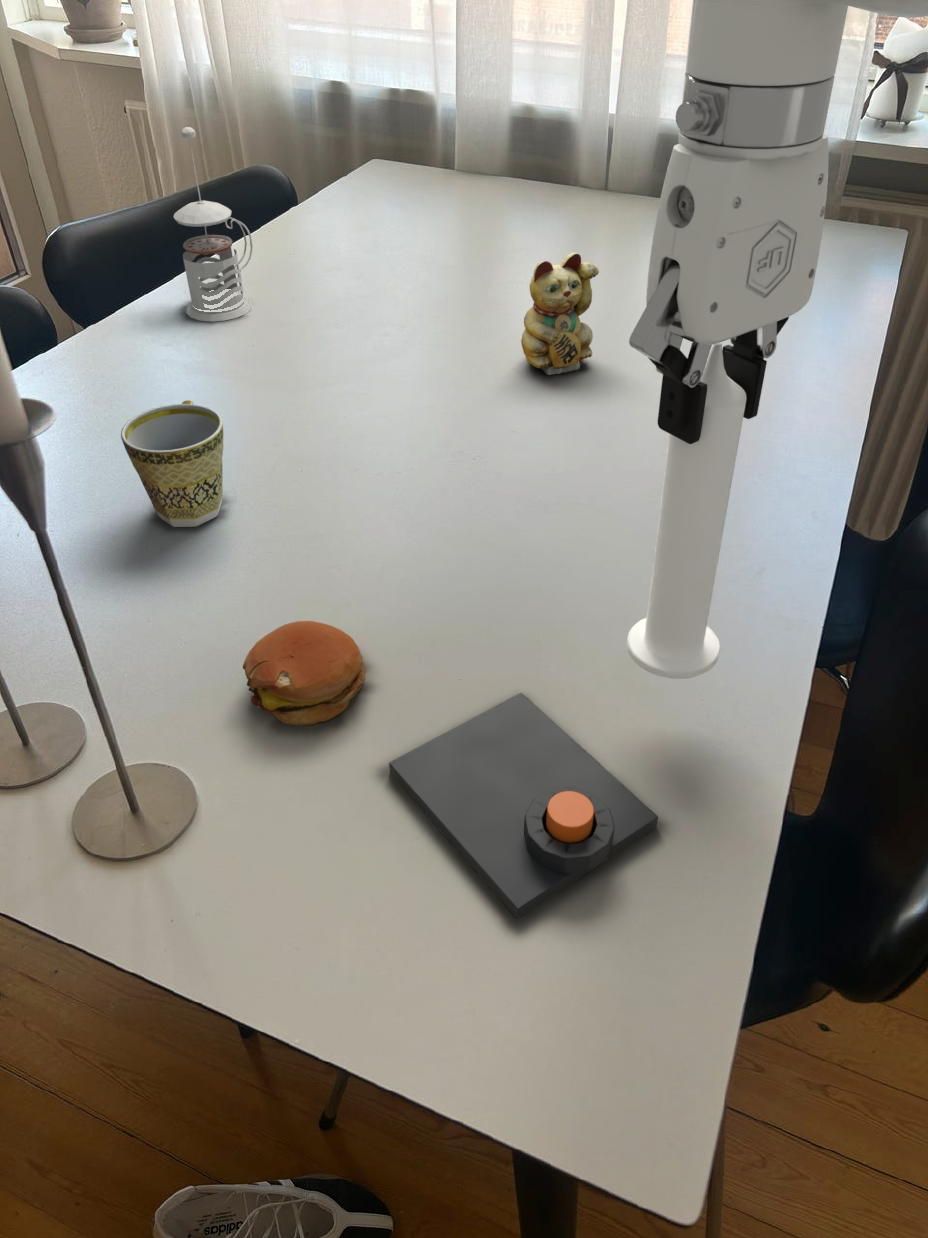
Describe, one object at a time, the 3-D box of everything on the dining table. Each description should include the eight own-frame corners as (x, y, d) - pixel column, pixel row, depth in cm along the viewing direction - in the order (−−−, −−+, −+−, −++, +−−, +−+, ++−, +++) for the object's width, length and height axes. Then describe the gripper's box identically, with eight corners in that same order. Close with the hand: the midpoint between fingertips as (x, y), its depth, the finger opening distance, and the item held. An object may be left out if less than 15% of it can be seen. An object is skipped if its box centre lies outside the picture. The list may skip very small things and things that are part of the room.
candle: (607, 648, 75) (636, 343, 60) (665, 608, 79) (706, 311, 63) (680, 693, 71) (731, 378, 55) (737, 649, 75) (800, 342, 59)
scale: (662, 832, 70) (667, 805, 68) (522, 925, 64) (523, 899, 62) (521, 702, 80) (522, 676, 79) (389, 772, 75) (387, 746, 73)
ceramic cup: (229, 536, 99) (212, 450, 93) (132, 537, 99) (108, 452, 93) (249, 470, 109) (234, 389, 103) (161, 471, 109) (141, 390, 103)
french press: (174, 307, 146) (136, 126, 130) (240, 287, 152) (212, 112, 136) (206, 326, 140) (171, 140, 124) (274, 305, 146) (249, 124, 130)
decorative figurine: (538, 383, 125) (543, 268, 116) (506, 359, 131) (508, 247, 121) (599, 367, 129) (609, 253, 119) (566, 344, 134) (572, 234, 125)
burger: (365, 648, 86) (361, 607, 83) (365, 723, 79) (360, 682, 76) (254, 654, 85) (245, 614, 82) (243, 731, 78) (233, 690, 75)
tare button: (601, 828, 67) (603, 812, 66) (566, 851, 66) (568, 835, 65) (571, 799, 69) (573, 783, 68) (536, 820, 68) (537, 804, 67)
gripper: (692, 153, 45) (653, 489, 57) (911, 99, 53) (838, 406, 64) (585, 125, 50) (570, 440, 61) (800, 79, 57) (750, 368, 69)
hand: (707, 419), depth 63 cm, fingers closed on candle, 4 cm apart
